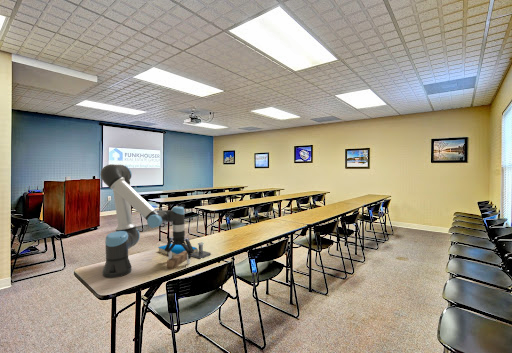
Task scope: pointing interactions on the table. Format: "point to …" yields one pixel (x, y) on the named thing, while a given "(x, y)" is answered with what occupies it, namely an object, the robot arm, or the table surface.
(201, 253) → the grey post on base
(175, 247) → the book
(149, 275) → the table surface
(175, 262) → the walnut beam
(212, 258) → the table surface
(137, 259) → the table surface
